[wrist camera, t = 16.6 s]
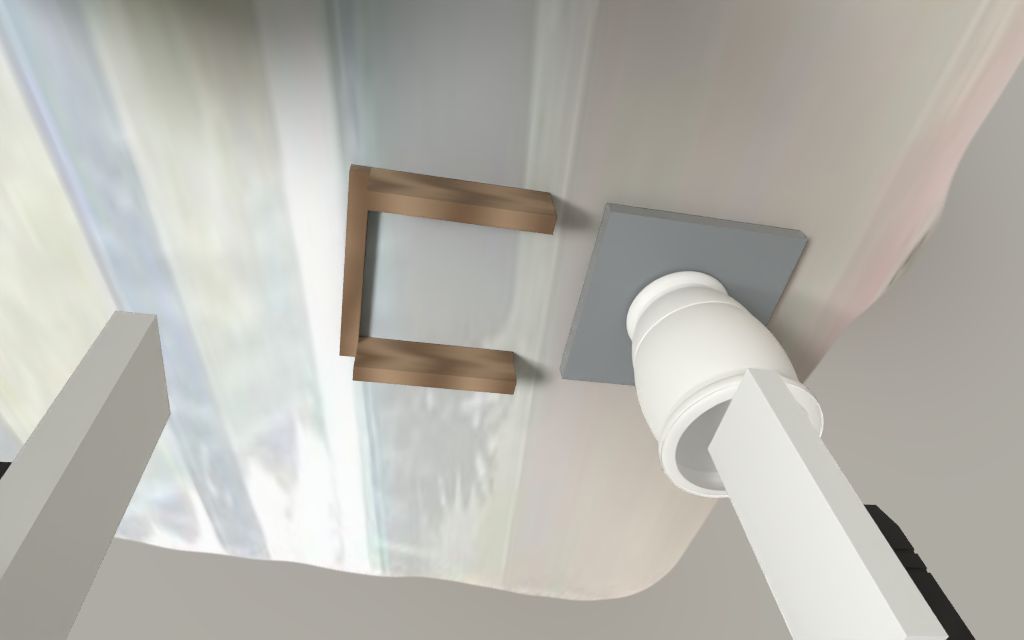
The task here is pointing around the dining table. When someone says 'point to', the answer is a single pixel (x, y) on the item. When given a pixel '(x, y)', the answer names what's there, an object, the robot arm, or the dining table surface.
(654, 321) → the jar
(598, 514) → the dining table surface
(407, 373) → the brown wooden u-shaped frame
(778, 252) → the plate
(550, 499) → the dining table surface
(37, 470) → the robot arm
